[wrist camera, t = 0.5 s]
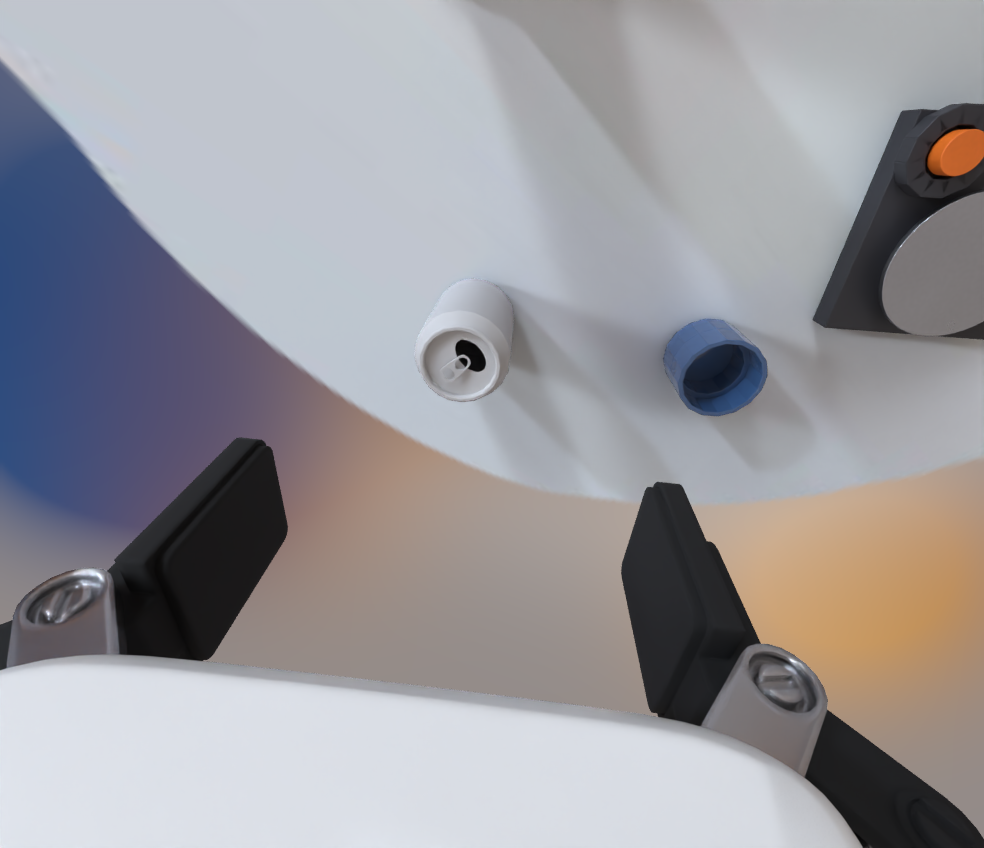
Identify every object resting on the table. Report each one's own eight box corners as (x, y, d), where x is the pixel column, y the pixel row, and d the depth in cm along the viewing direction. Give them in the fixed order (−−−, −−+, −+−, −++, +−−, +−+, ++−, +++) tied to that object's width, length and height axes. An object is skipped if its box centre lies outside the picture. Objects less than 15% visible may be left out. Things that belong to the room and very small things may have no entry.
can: (530, 323, 45) (529, 377, 35) (470, 365, 48) (453, 426, 38) (481, 258, 42) (466, 296, 32) (421, 307, 45) (388, 356, 35)
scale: (898, 104, 34) (933, 101, 31) (1101, 116, 34) (1156, 114, 31) (808, 319, 43) (829, 333, 40) (969, 331, 42) (1002, 346, 39)
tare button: (940, 128, 32) (955, 127, 31) (981, 130, 32) (998, 130, 31) (918, 173, 34) (932, 175, 33) (958, 176, 34) (973, 177, 33)
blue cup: (672, 313, 44) (691, 336, 38) (751, 319, 43) (780, 343, 38) (654, 383, 47) (669, 412, 42) (726, 388, 47) (750, 419, 42)
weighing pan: (923, 183, 34) (928, 184, 33) (1081, 194, 33) (1088, 194, 33) (853, 329, 40) (857, 331, 39) (987, 339, 39) (992, 341, 39)
